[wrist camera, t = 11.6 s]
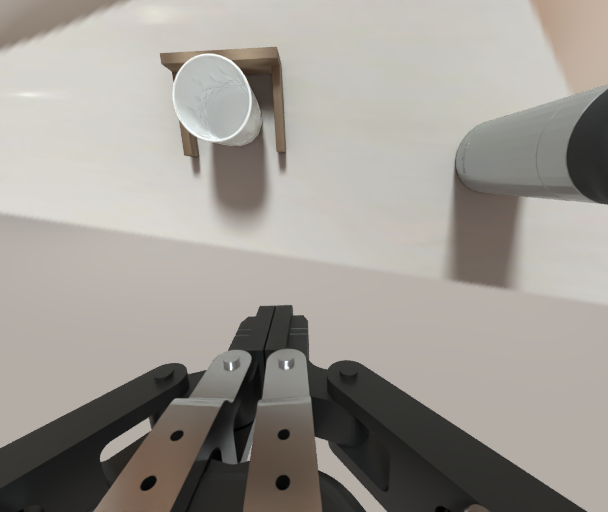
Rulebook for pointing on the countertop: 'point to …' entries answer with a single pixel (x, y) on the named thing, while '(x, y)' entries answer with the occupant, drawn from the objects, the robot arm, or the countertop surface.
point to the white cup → (216, 101)
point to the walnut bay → (249, 64)
